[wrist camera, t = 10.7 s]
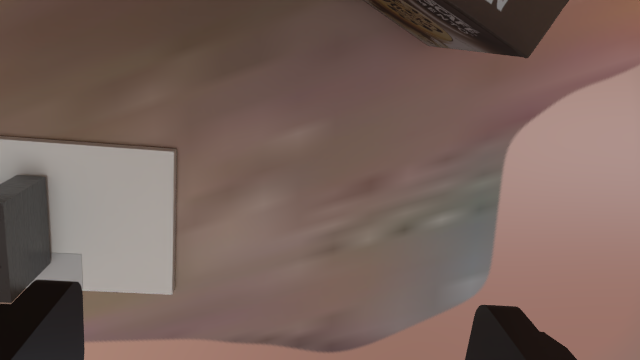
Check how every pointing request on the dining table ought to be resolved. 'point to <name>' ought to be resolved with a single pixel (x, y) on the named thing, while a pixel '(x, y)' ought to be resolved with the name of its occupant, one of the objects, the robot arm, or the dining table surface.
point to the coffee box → (475, 22)
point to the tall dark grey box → (22, 233)
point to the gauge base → (103, 211)
